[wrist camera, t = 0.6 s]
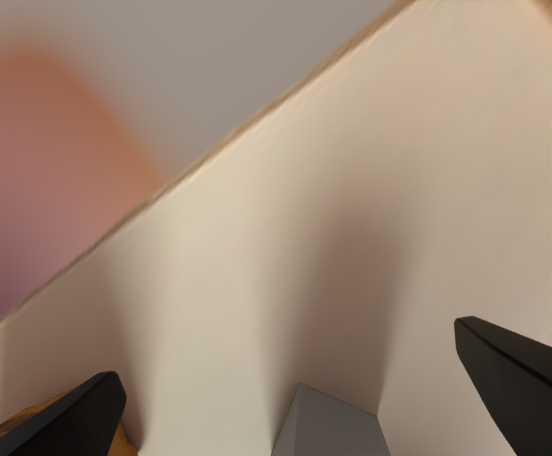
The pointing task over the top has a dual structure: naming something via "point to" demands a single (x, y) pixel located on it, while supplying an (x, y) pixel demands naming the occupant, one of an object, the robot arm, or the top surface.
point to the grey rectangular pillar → (328, 428)
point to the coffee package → (120, 450)
